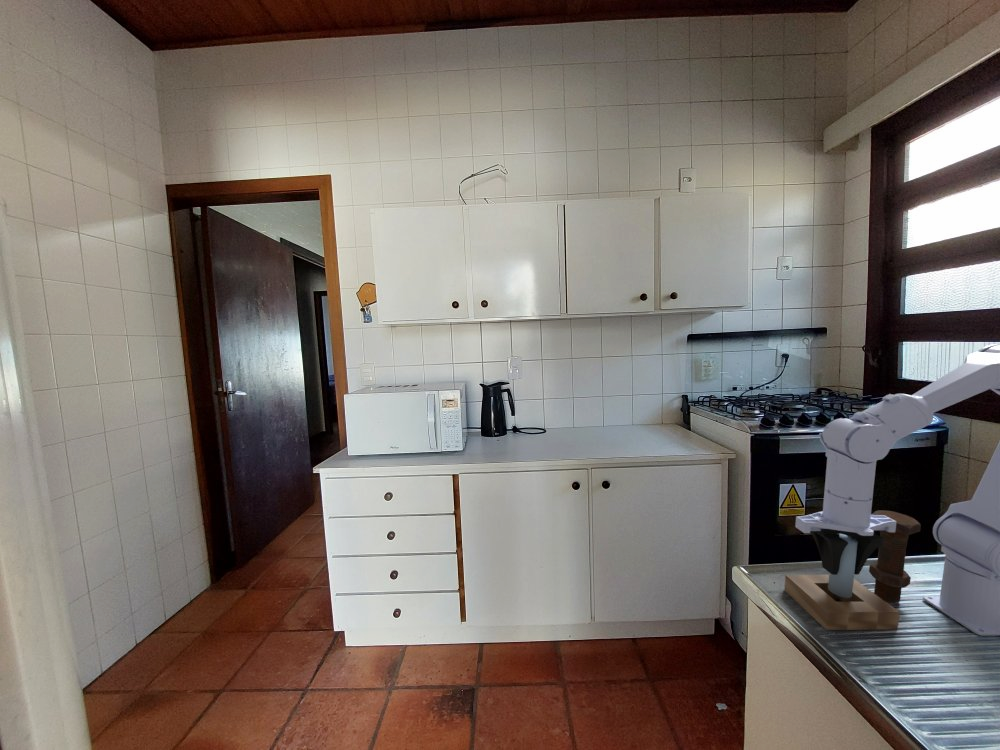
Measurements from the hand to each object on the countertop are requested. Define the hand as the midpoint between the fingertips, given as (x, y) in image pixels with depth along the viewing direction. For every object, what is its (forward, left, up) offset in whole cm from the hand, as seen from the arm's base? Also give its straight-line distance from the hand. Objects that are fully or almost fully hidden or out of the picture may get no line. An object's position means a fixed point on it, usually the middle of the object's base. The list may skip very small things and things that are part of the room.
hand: (840, 570), depth 63 cm
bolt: (-11, -2, -7) cm, 13 cm away
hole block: (0, 0, -7) cm, 7 cm away
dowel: (0, 0, -4) cm, 4 cm away
